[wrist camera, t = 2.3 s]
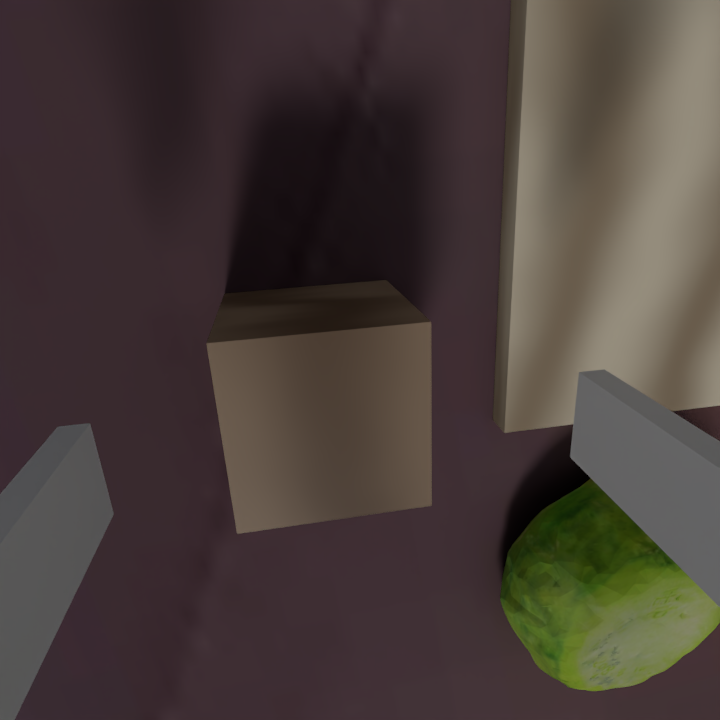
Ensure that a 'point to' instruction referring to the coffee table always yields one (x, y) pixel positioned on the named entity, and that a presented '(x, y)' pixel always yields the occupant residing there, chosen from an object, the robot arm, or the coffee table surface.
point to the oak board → (609, 206)
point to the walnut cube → (322, 403)
